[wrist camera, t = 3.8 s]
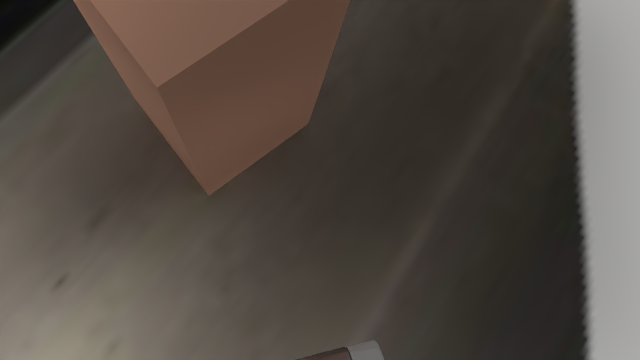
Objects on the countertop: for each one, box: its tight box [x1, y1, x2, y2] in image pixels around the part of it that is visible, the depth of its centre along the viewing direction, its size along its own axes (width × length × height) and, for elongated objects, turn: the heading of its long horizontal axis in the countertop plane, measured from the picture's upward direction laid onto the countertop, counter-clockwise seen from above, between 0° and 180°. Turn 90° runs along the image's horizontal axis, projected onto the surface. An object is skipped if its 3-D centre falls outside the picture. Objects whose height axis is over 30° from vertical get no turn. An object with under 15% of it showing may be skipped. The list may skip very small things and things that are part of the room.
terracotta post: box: [73, 0, 351, 196], centre depth 14 cm, size 4×4×10 cm
